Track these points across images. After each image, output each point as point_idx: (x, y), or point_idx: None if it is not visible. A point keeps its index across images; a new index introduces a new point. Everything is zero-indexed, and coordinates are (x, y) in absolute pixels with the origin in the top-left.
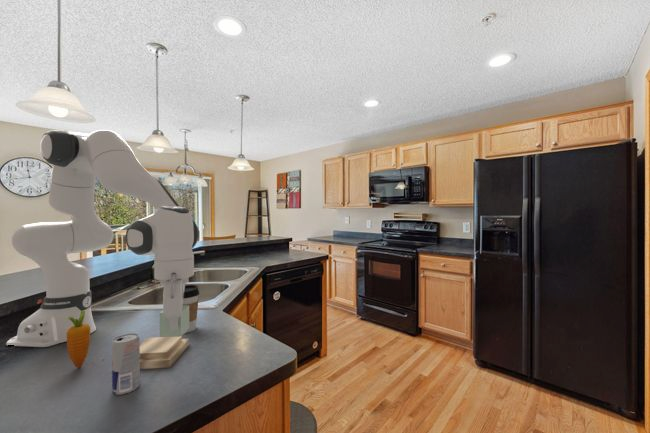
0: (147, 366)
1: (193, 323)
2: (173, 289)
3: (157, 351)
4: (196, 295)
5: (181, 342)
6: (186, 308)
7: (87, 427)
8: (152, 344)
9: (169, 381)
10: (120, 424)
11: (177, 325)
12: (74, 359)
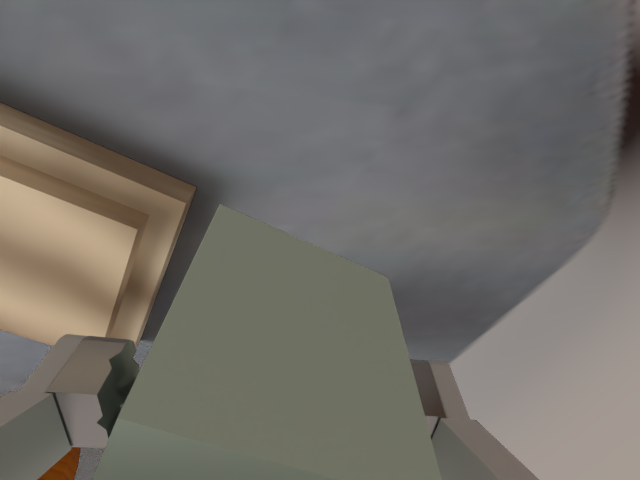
0: (164, 269)
1: None
2: None
3: (112, 265)
4: None
5: None
6: (251, 440)
7: None
8: (10, 283)
9: (326, 194)
10: (490, 316)
11: (457, 395)
12: (77, 464)
